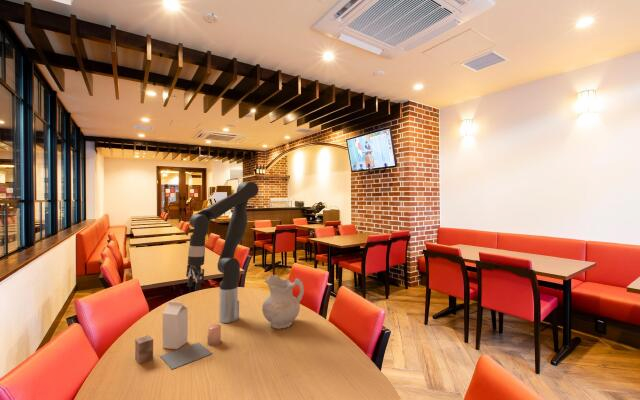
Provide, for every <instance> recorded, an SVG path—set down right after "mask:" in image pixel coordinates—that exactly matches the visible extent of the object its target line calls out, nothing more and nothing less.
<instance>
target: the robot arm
mask: <svg viewBox="0 0 640 400" xmlns="http://www.w3.org/2000/svg"><path fill="white" fill-rule="evenodd" d="M258 193H259V186H258V184H257V183H256V182H254V181H242V182H240V183H239V184H238V186H237V188H236V192H234V193H233V194H231V195H228V196H226V197H223V198H222V199H220V200H218V201H216V202H214V203H212V204H211V205H210V206H208V207H207V208H204V209H202V210H200V211H198V212H196V213H194V214H193V215H192V216H191V217H190V219H189V221H188V222H189V225H190V226H191V228H193V233H191V235H190V237H189V247H188V250H187V251H188V252H187V265H186V273H185V274H186V276H185V277H186V278H187V280H188V281H187V287H190V288H191V287H193V286H194V279H195V288H194V289H195V291H201V286H202V283H203V282H204V280H205V268H202V266H203V265H204V264H205V256H206V255H205V254H206V236H207V234H208V229H209V224H210V221H213V220H217V219H218V218H220V217H221V216H222V215H224V214H225V213H228V211H230V210H232V213H231V216H230V220H229V223H228V228H227V232H226V236H225V239H224V244H223V247H222V249H221V253H220V256H219V258H218V261H217V270H218V272H219V273H221V274H222V275H223V277H222V280H221V281H220V282H219V312H218V314H219V316H218V317H219V320H218V321H219V322H220V323H223V324H229V323H233V322H235V321H237V320H239V319H240V300H239V299H238V298H239V297H238V296H239V295H238V294H239V291H238V289H239V288H238V287H239V283H240V275H241V274H240V273H241V264H240V261H239V260H238V259H237V258H235V254H236V249H237V248H238V246H239V244H240V243H241V241H242V239H243V238H244V236H245V234H246V230H247V227H248V226H247V225H248V215H247V206H248V202H249V200H250V199H253V198H255V197H256V196H257V195H258Z"/></svg>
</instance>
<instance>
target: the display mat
mask: <svg viewBox="0 0 640 400" xmlns="http://www.w3.org/2000/svg"><path fill="white" fill-rule="evenodd" d="M212 354H213V352H212V351H211V350H209V349H208V348H207V347H206V346H204V345H203V344H202V343H200V342H196V343H193V344H191V345H186V346H185V347H180V348H178V349H174V350H173V351H171V352H166V353H165V354H161V355H159V357H160V358H161V360H162V361H163V362H164V363H165V364H166V365H167V366H168V368H170V369H171V370H174V369H177V368H180V367H182V366H185V365H188V364H190V363H193V362H194V361H198V360H200V359H203V358H206V357H207V356H210V355H212Z"/></svg>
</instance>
